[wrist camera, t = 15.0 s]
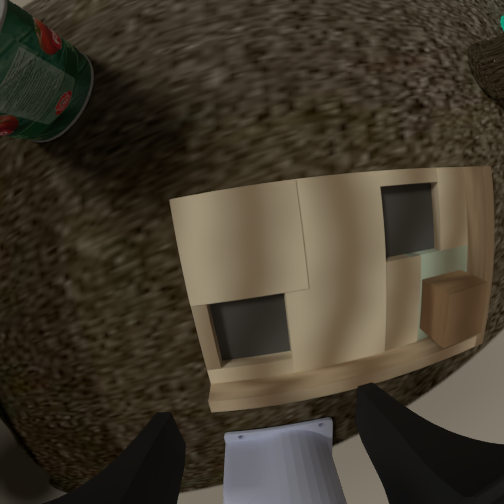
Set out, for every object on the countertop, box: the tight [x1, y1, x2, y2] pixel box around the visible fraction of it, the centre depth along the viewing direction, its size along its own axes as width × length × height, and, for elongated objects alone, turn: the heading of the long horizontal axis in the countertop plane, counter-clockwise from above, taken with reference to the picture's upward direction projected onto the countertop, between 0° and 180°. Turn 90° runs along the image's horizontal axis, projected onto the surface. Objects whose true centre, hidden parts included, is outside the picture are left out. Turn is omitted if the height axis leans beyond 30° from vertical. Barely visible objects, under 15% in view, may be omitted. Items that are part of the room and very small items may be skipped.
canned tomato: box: [0, 0, 94, 142], centre depth 11 cm, size 8×8×11 cm
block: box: [419, 270, 488, 348], centre depth 17 cm, size 4×4×4 cm
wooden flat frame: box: [170, 166, 494, 412], centre depth 18 cm, size 22×14×3 cm, turn 99°
